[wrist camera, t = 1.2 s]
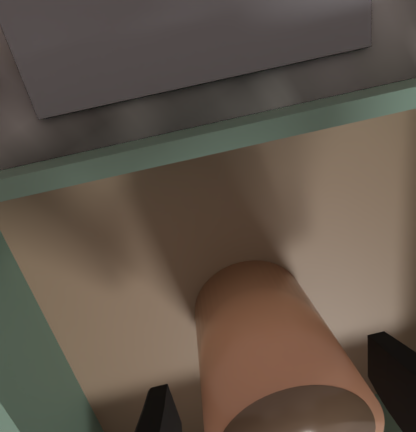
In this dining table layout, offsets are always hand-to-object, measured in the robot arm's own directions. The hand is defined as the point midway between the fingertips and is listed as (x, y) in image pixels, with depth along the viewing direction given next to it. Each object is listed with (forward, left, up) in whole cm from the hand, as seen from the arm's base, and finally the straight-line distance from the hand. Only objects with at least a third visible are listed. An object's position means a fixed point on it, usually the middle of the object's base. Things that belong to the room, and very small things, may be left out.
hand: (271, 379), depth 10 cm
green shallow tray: (0, 0, -4) cm, 4 cm away
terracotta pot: (0, 0, -4) cm, 4 cm away
